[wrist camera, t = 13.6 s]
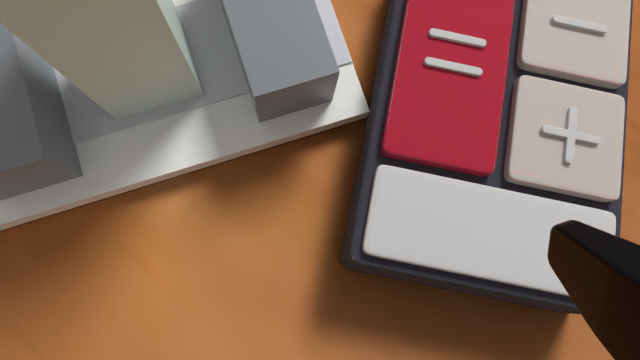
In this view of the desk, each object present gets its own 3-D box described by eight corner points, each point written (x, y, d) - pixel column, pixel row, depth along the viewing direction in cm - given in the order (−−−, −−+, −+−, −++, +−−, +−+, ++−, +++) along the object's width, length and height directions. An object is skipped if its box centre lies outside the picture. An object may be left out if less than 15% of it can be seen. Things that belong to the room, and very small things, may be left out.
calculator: (647, -20, 22) (630, 319, 19) (589, 29, 27) (568, 314, 23) (409, -72, 22) (349, 262, 19) (389, -14, 26) (337, 267, 23)
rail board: (301, -63, 25) (304, -133, 21) (366, 117, 24) (384, 84, 20) (-62, 32, 23) (-144, -22, 19) (-15, 235, 22) (-92, 227, 18)
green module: (203, 94, 23) (136, -39, 13) (115, 119, 22) (-24, 2, 12) (179, 15, 23) (97, -170, 13) (93, 38, 23) (-58, -136, 13)
